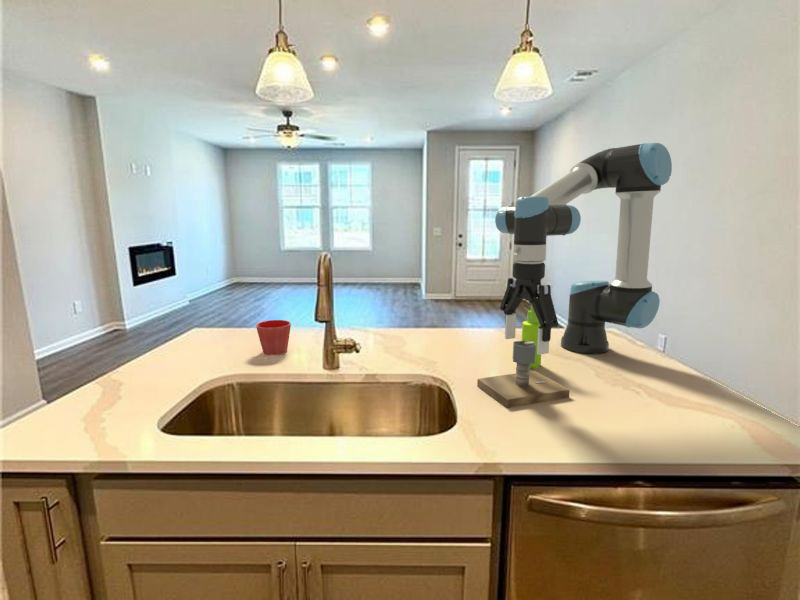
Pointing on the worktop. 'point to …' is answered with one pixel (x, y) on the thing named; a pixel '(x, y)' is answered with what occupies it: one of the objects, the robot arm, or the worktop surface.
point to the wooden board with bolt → (522, 387)
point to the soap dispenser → (532, 334)
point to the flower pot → (274, 336)
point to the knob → (524, 352)
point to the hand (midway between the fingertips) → (525, 345)
